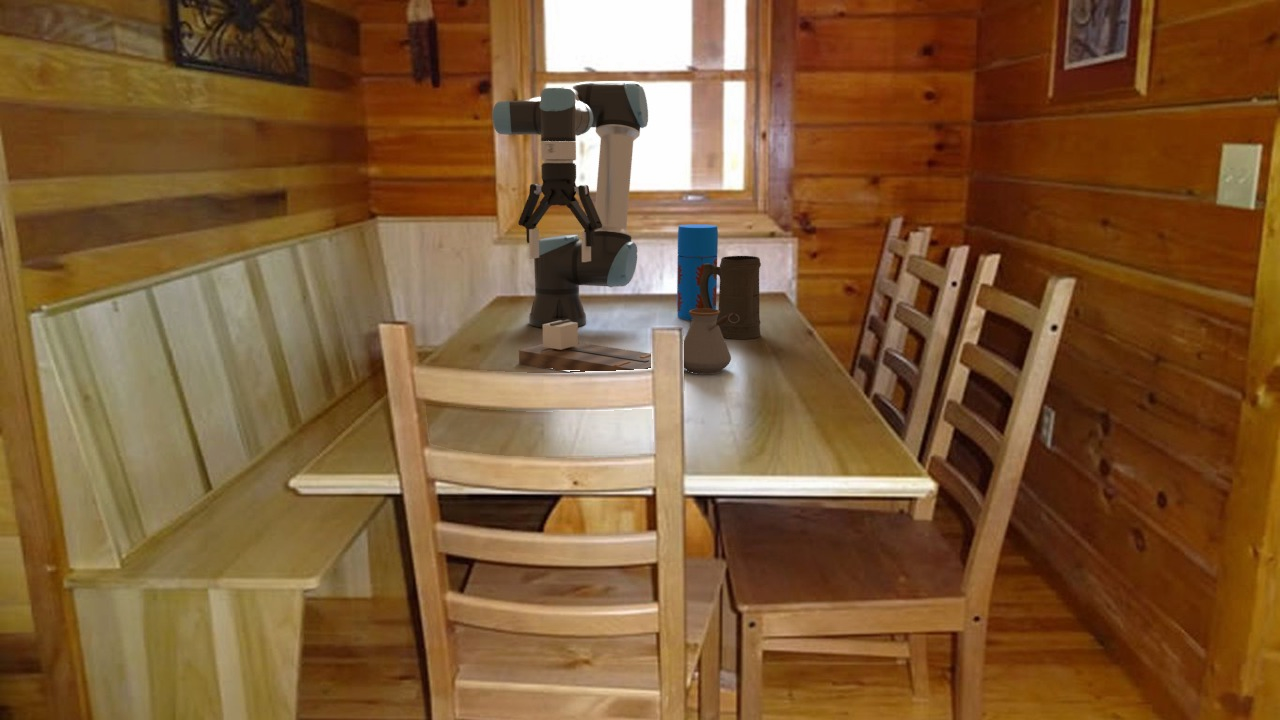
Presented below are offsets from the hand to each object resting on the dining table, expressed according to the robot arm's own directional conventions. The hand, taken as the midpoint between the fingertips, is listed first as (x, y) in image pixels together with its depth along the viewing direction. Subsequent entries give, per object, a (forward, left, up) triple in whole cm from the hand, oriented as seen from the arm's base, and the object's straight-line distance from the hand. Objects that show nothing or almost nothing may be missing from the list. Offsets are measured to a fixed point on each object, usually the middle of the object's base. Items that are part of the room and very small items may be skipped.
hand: (560, 260), depth 208 cm
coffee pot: (+38, +3, -22) cm, 44 cm away
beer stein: (+20, +42, -22) cm, 51 cm away
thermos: (0, +59, -22) cm, 63 cm away
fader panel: (+14, -5, -22) cm, 26 cm away
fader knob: (+4, -5, -18) cm, 19 cm away
